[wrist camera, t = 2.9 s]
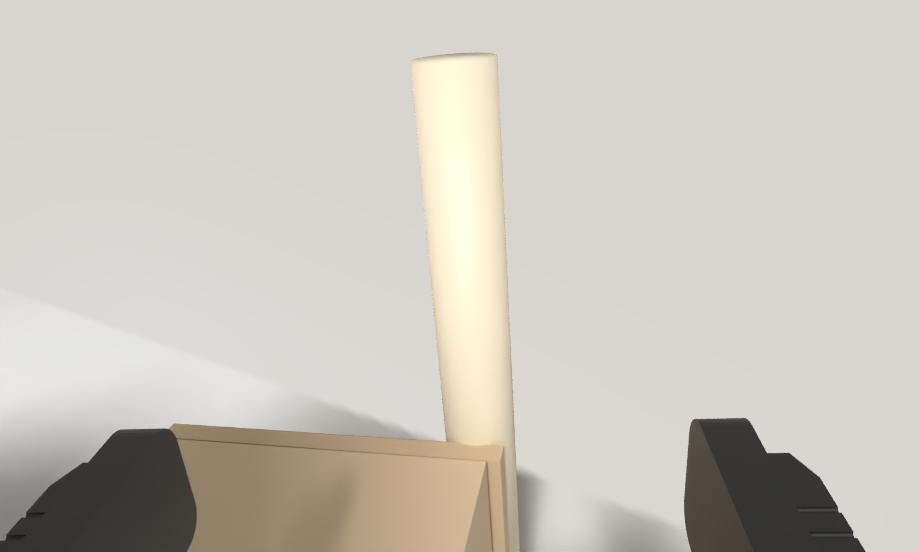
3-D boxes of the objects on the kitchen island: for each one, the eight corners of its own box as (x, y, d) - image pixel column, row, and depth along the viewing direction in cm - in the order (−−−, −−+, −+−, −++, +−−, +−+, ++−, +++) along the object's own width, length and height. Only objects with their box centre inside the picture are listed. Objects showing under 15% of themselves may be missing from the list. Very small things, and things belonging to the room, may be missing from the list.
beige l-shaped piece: (228, 659, 29) (55, 86, 19) (261, 599, 32) (124, 71, 22) (519, 701, 26) (485, 65, 17) (527, 631, 29) (502, 51, 20)
